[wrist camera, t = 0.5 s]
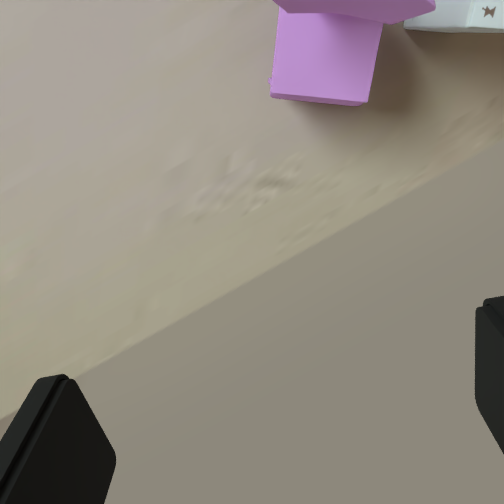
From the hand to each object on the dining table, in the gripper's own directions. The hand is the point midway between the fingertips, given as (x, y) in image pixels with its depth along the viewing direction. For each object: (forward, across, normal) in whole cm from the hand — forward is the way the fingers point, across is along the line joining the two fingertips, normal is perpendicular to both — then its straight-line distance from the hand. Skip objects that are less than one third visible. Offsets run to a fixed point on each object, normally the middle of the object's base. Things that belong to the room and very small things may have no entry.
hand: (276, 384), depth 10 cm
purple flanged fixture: (+30, -5, -5) cm, 31 cm away
